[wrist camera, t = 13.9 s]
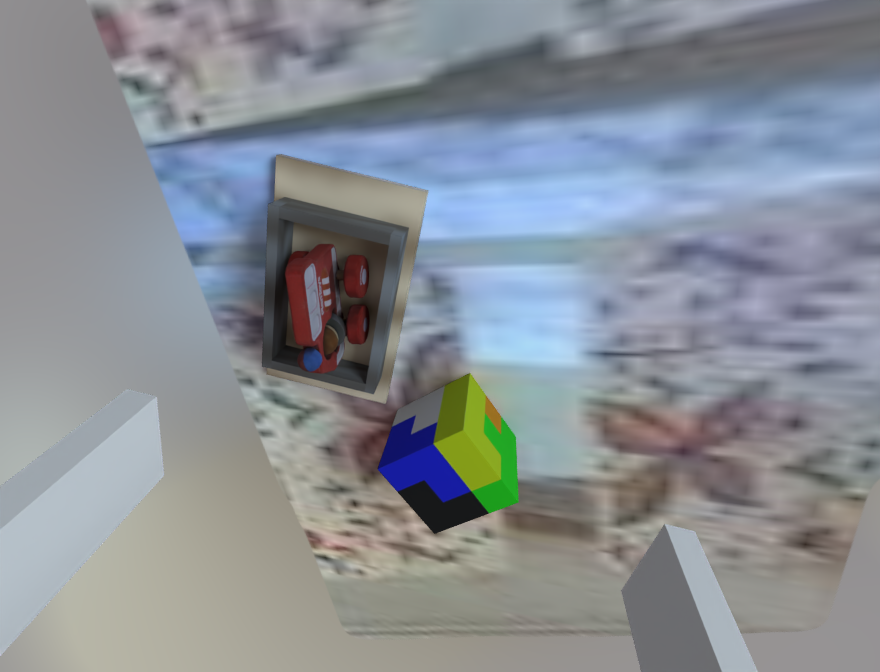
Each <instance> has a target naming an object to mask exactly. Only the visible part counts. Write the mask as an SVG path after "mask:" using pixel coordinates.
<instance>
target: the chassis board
mask: <svg viewBox="0 0 880 672" xmlns="http://www.w3.org/2000/svg"><path fill="white" fill-rule="evenodd" d="M427 196H428V190H424V189H420V188H416V187H412V186H408V185H404V184H400V183H396V182H392V181H388V180H384V179H380V178H376V177H371V176H367V175H363V174H359V173H355V172H351V171H347V170H343V169H339V168H335V167H331V166H327V165H323V164H319V163H315V162H311V161H306V160H302V159H298V158H294V157H290V156H286V155H282V154H280V155H276V171H275V194H274V202H272V203H270V204H268V219H267V245H266V272H265V299H264V326H263V353H262V367H266V368H267V374H268V375H272V376H276V377H280V378H284V379H288V380H292V381H296V382H300V383H304V384H308V385H312V386H316V387H320V388H324V389H328V390H332V391H336V392H340V393H344V394H348V395H352V396H356V397H360V398H364V399H368V400H372V401H376V402H380V403H384V404H386V401H387V398H388V393H389V388H390V383H391V378H392V373H393V368H394V363H395V358H396V353H397V348H398V343H399V338H400V333H401V328H402V322H403V317H404V312H405V307H406V302H407V297H408V292H409V287H410V282H411V277H412V272H413V267H414V262H415V257H416V251H417V246H418V241H419V236H420V231H421V226H422V221H423V216H424V211H425V206H426V201H427ZM318 244H333V245H334V246H335V249H336V254H337V262H338V266H339V269H340V270H344V267H345V262H346V259H347V257H348V256H349V255H363V256H365V257H366V258H367V261H368V266H369V284H368V289H367V292H366V294H365V296H364V297H363V298H350V297H348V296H347V294H346V292H345V287H344V283H343V280H339V288H340V297H341V308H342V313H343V316H344V318H347V315H348V312H349V308H350V307H351V305H354V304H358V305H365V306H367V308H368V311H369V318H370V322H369V323H370V324H369V332H368V337H367V340H366V342H365V343H364V344H361V345H359V344H351V343H349V342H348V340H347V336H345V339H344V342H345V350H344V355H343V357H342V359H341V360H340V362H339V364H338V366H337V368H336V369H335V370H334V371H331V372H327V373H324V374H319V373H310V372H306V371H304V370H302V369H301V368H300V367H299V365H298V363H297V358H298V355H299V354H300V352H301V351H302V350H303V346H301V345H298V344H297V343H296V341H295V338H294V332H293V328H292V318H291V311H290V305H289V297H288V291H287V284H286V277H285V271H286V267H287V265H288V261H289V258H290V256H291V254H292V253H293V252H295V251H309V252H310V251H311V250H312V249H313V248H314V247H315V246H316V245H318Z"/></svg>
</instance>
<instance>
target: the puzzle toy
mask: <svg viewBox="0 0 880 672" xmlns="http://www.w3.org/2000/svg"><path fill="white" fill-rule="evenodd" d="M378 470H379V471H380V472H381V474H382V475H383V476H384V477H385V478H386V479H387V480H388V482H389V483H390V484H391V485H392V486H393V487H394V488H395V490H396V491H397V492H398V493H399V494H400V495H401V496H402V498H403V499H404V500H405V501H406V502H407V503H408V504H409V505H410V507H411V508H412V509H413V510H414V511H415V512H416V513H417V515H418V516H419V517H420V518H421V519H422V520H423V521H424V523H425V524H426V525H427V526H428V527H429V528H430V529H431V530H432V532H433V533H434V534H435V533H438V532H441V531H443V530H446V529H449V528H451V527H454V526H457V525H459V524H462V523H465V522H467V521H470V520H473V519H475V518H478V517H481V516H483V515H486V514H489V513H491V512H494V511H497V510H499V509H502V508H505V507H507V506H510V505H513V504H515V503H518V479H517V455H516V437H515V435H514V434H513V432H512V431H511V430H510V428H509V427H508V425H507V424H506V423H505V421H504V420H503V418H502V417H501V416H500V414H499V413H498V411H497V410H496V409H495V407H494V406H493V404H492V403H491V402H490V400H489V399H488V398H487V396H486V395H485V393H484V392H483V391H482V389H481V388H480V386H479V385H478V384H477V382H476V381H475V379H474V378H473V377H472V375H471V374H470V373H469V374H467V375H465V376H463V377H461V378H459V379H457V380H455V381H453V382H451V383H449V384H447V385H445V386H443V387H441V388H439V389H437V390H435V391H433V392H431V393H429V394H427V395H425V396H423V397H422V398H420V399H418V400H416V401H414V402H412V403H410V404H408V405H406V406H404V407H402V408H400V409H398V410H397V413H396V416H395V419H394V422H393V425H392V428H391V431H390V434H389V437H388V440H387V443H386V446H385V449H384V452H383V455H382V458H381V460H380V463H379V466H378Z"/></svg>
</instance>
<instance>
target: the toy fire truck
mask: <svg viewBox="0 0 880 672" xmlns="http://www.w3.org/2000/svg"><path fill="white" fill-rule="evenodd" d="M285 277H286V284H287V291H288V297H289V305H290V311H291V318H292V328H293V332H294V338H295V341H296V343H297V344H298V345H301V346H303V350H302V351H301V352H300V354H299V355H298V358H297V363H298V365H299V367H300V368H301V369H302V370H304V371H306V372H310V373H319V374H324V373H327V372H331V371H334V370H335V369H336V368H337V366H338V364H339V362H340V360H341V359H342V357H343V355H344V350H345V342H344V339H345V336H347V340H348V342H349V343H351V344H359V345H361V344H364V343H365V342H366V340H367V337H368V332H369V324H370V323H369V322H370V318H369V311H368V308H367V306H365V305H358V304H354V305H351V307H350V308H349V312H348V315H347V318H344V316H343V313H342V308H341V297H340V288H339V280H343V283H344V287H345V292H346V294H347V296H348V297H350V298H363V297H364V296H365V294H366V292H367V289H368V284H369V266H368V261H367V258H366V257H365V256H363V255H349V256H348V257H347V259H346V262H345V267H344V270H340V269H339V266H338V262H337V254H336V249H335V246H334V245H333V244H318V245H316V246H315V247H314V248H313V249H312V250H311V251H310V252H309V251H295V252H293V253H292V254H291V256H290V258H289V261H288V265H287V267H286V271H285Z"/></svg>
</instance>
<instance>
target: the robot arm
mask: <svg viewBox="0 0 880 672" xmlns="http://www.w3.org/2000/svg"><path fill="white" fill-rule="evenodd" d="M163 476H164V469H163V459H162V448H161V438H160V426H159V416H158V405H157V396H153V395H149V394H145V393H141V392H137V391H133V390H129V389H127V390H125V391H124V392H123V393H121V394H120V395H119V396H118V397H116V398H115V399H114V400H112V401H111V402H110V403H108V404H107V405H106V406H104V407H103V408H102V409H101V410H99V411H98V412H97V413H95V414H94V415H93V416H91V417H90V418H89V419H87V420H86V421H85V422H84V423H82V424H81V425H80V426H78V427H77V428H76V429H74V430H73V431H72V432H70V433H69V434H68V435H67V436H65V437H64V438H63V439H61V440H60V441H59V442H57V443H56V444H55V445H53V446H52V447H51V448H50V449H48V450H47V451H46V452H44V453H43V454H42V455H41V456H39V457H38V458H37V459H35V460H34V461H33V462H31V463H30V464H29V465H27V466H26V467H25V468H23V469H22V470H21V471H20V472H18V473H17V474H16V475H15V476H13V477H12V478H10V479H9V480H8V481H6V482H5V483H4V484H2V485H1V486H0V656H1V655H2V653H3V652H4V651H5V650H6V649H7V648H8V647H9V646H10V645H11V644H12V643H13V641H14V640H15V639H16V638H17V637H18V636H19V635H20V634H21V633H22V632H23V630H24V629H25V628H26V627H27V626H28V625H29V624H30V623H31V622H32V620H33V619H34V618H35V617H36V616H37V615H38V614H39V613H40V612H41V611H42V609H43V608H44V607H45V606H46V605H47V604H48V603H49V601H51V600H52V598H53V597H54V596H55V595H56V594H57V593H58V592H59V591H60V590H61V588H62V587H63V586H64V585H65V584H66V583H67V582H68V581H69V580H70V579H71V577H72V576H73V575H74V574H75V573H76V572H77V571H78V570H79V568H81V566H82V565H83V564H84V563H85V562H86V561H87V560H88V559H89V558H90V556H91V555H92V554H93V553H94V552H95V551H96V550H97V549H98V548H99V547H100V545H101V544H102V543H103V542H104V541H105V540H106V539H107V538H108V537H109V536H110V534H111V533H112V532H113V531H114V530H115V529H116V528H117V527H118V526H119V524H120V523H121V522H122V521H123V520H124V519H125V518H126V517H127V516H128V515H129V513H130V512H131V511H132V510H133V509H134V508H135V507H136V506H137V504H139V502H140V501H141V500H142V499H143V498H144V497H145V496H146V495H147V494H148V492H149V491H150V490H151V489H152V488H153V487H154V486H155V485H156V484H157V483H158V481H159V480H160V479H161V478H162V477H163ZM621 591H622V595H623V599H624V604H625V608H626V612H627V616H628V620H629V624H630V628H631V632H632V636H633V640H634V644H635V648H636V652H637V656H638V661H639V664H640V669H641V672H758V671H757V669H756V667H755V665H754V662H753V660H752V658H751V656H750V653H749V651H748V649H747V647H746V645H745V642H744V640H743V638H742V635H741V633H740V631H739V629H738V627H737V624H736V622H735V620H734V618H733V615H732V613H731V611H730V609H729V607H728V604H727V602H726V600H725V598H724V595H723V593H722V591H721V589H720V587H719V584H718V582H717V580H716V578H715V575H714V573H713V571H712V569H711V567H710V564H709V562H708V560H707V558H706V555H705V553H704V551H703V549H702V547H701V544H700V542H699V540H698V538H697V535H696V533H695V531H691V530H687V529H683V528H679V527H675V526H671V525H667V524H664V526H663V527H662V529H661V531H660V532H659V534H658V535H657V537H656V538H655V540H654V541H653V543H652V544H651V546H650V547H649V549H648V551H647V552H646V554H645V555H644V557H643V558H642V560H641V561H640V563H639V564H638V566H637V567H636V569H635V570H634V572H633V574H632V575H631V577H630V578H629V580H628V581H627V583H626V584H625V586H624V587H623V589H622V590H621Z"/></svg>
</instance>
